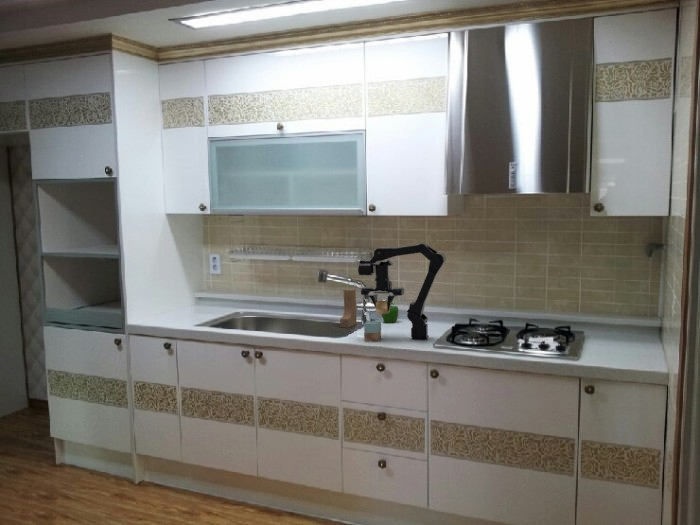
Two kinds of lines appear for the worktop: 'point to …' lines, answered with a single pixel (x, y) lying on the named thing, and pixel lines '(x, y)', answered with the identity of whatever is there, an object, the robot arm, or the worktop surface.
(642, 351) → the worktop surface
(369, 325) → the top block
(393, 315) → the bell pepper
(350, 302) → the wooden block
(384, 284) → the robot arm
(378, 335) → the base block
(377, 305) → the oak cube
